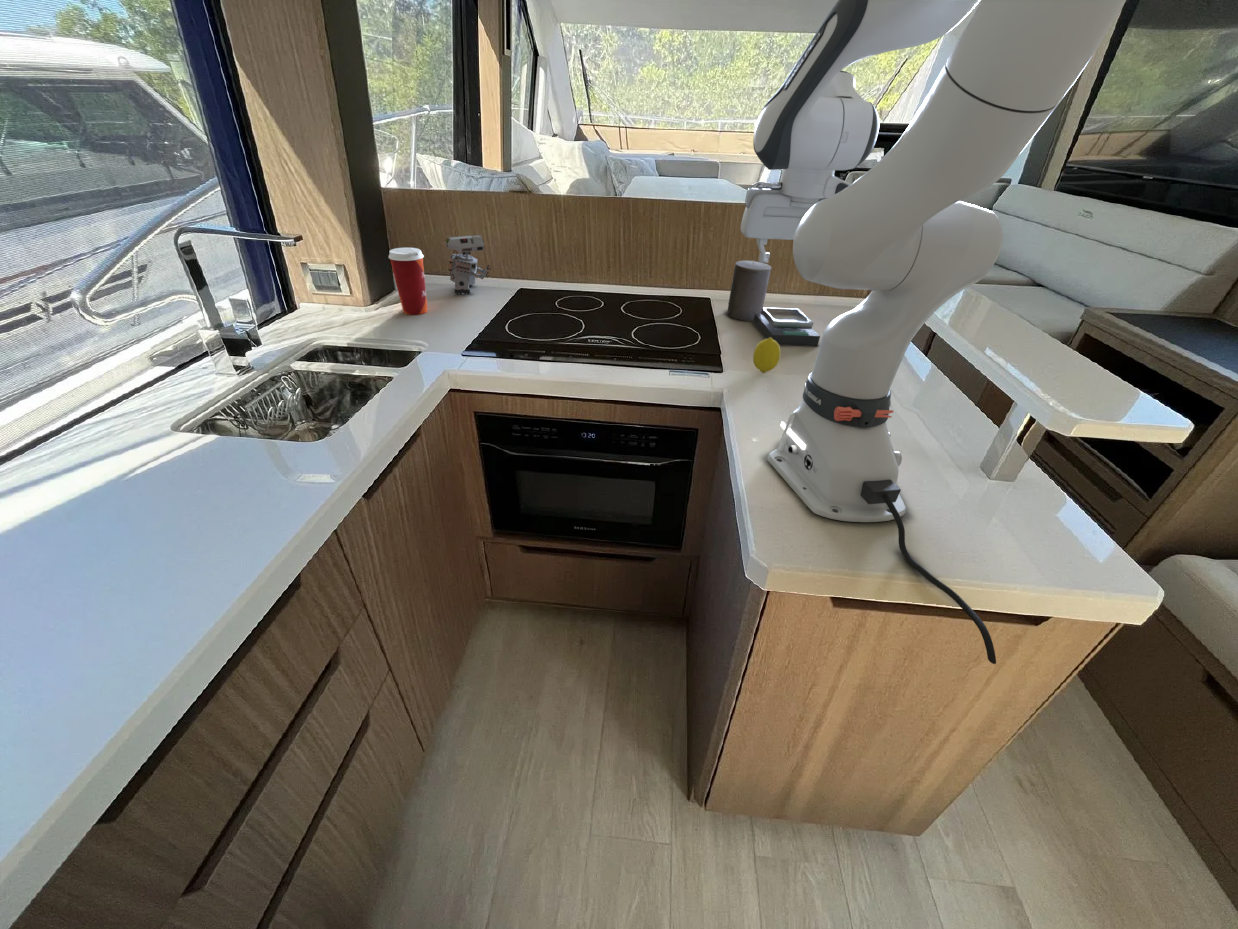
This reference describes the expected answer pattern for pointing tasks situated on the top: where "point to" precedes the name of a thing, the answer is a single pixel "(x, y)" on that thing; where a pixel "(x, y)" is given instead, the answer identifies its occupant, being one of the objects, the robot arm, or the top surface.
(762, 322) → the scale
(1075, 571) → the top surface
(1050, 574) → the top surface
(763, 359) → the lemon
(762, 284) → the pillar candle
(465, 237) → the figurine
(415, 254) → the coffee cup
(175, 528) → the top surface
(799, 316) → the scale pan
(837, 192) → the robot arm
